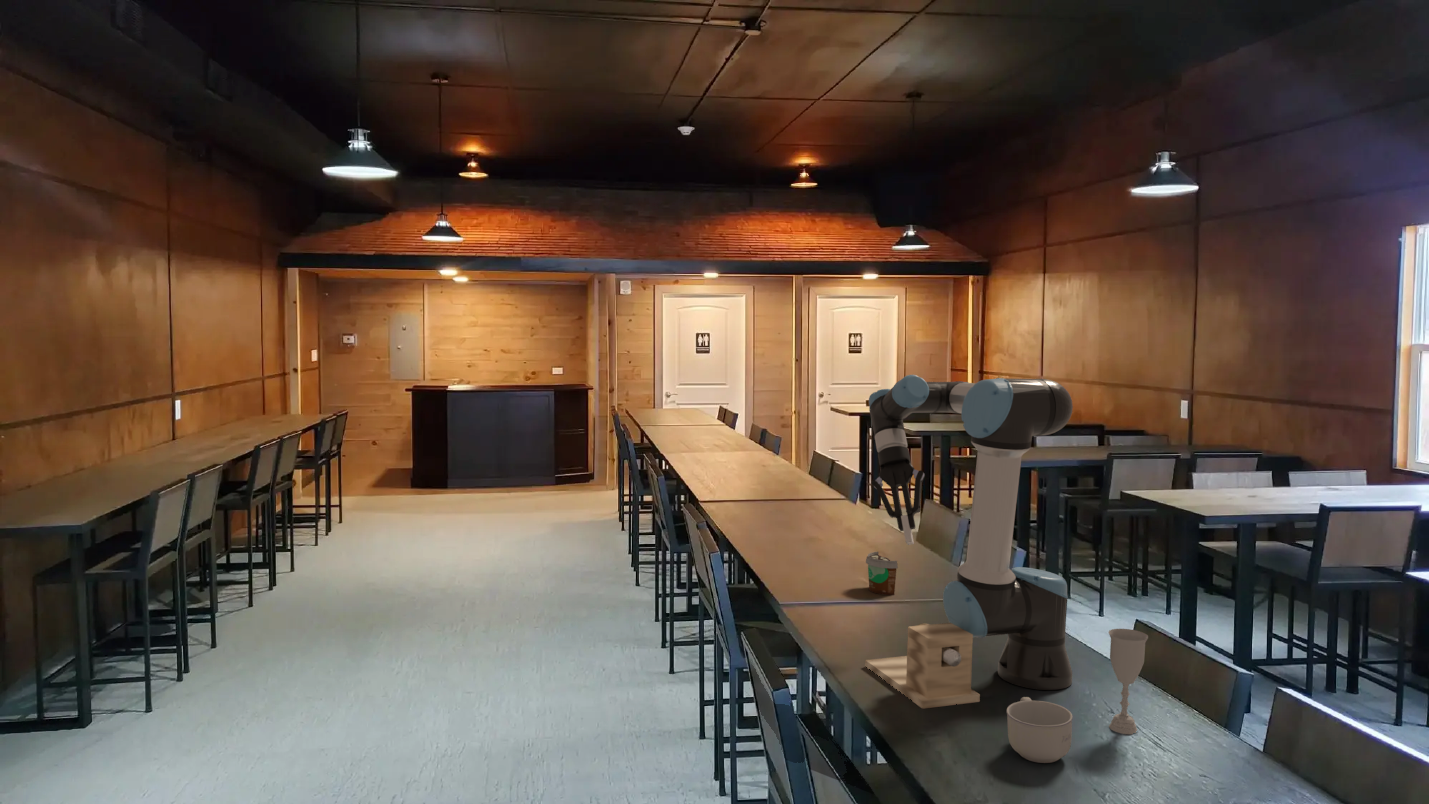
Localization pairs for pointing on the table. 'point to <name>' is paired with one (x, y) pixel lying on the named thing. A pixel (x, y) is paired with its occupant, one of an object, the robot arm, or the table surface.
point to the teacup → (1039, 730)
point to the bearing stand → (931, 667)
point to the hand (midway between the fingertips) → (909, 543)
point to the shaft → (949, 654)
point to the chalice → (1126, 671)
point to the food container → (881, 574)
